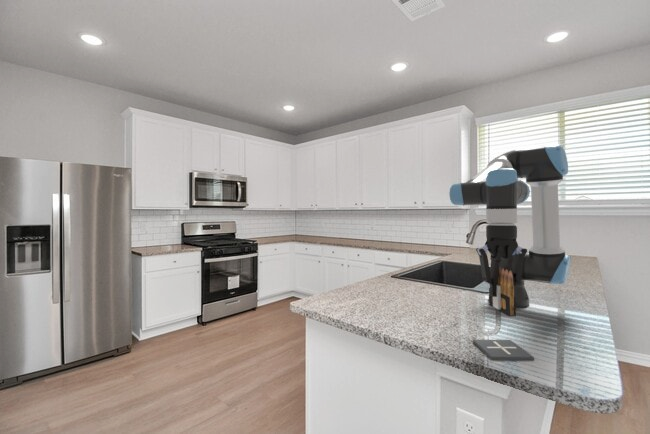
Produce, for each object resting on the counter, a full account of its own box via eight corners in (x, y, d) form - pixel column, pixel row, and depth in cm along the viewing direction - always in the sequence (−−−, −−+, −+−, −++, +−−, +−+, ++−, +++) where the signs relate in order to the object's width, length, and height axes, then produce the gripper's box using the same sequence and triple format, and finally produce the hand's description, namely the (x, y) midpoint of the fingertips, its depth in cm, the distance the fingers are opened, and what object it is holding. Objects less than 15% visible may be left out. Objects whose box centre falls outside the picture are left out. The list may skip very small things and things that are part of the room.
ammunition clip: (488, 304, 91) (488, 264, 91) (494, 304, 91) (494, 264, 91) (508, 316, 81) (508, 271, 81) (516, 316, 81) (515, 271, 81)
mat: (510, 342, 92) (510, 339, 92) (534, 360, 81) (534, 356, 81) (473, 342, 92) (473, 339, 92) (491, 359, 81) (491, 356, 81)
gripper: (520, 223, 89) (520, 304, 90) (468, 224, 90) (468, 303, 90) (537, 224, 82) (537, 312, 82) (480, 225, 82) (480, 312, 83)
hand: (501, 307), depth 86 cm, fingers closed on ammunition clip, 2 cm apart
